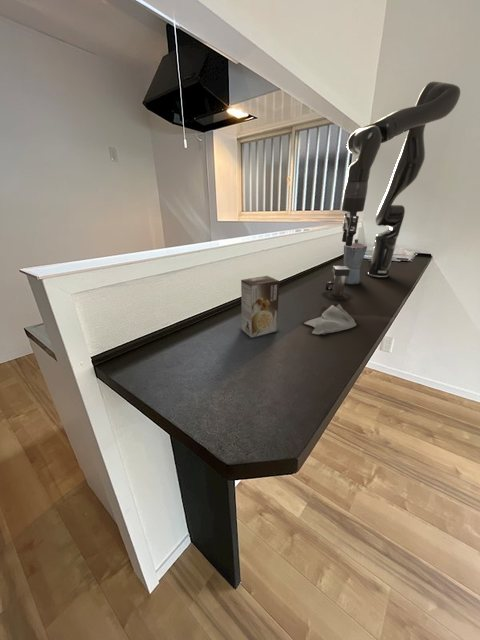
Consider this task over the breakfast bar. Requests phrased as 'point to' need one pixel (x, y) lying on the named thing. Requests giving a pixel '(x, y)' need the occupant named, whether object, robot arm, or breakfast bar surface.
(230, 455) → the breakfast bar surface
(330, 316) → the cloth
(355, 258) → the moka pot
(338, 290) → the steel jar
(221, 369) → the breakfast bar surface
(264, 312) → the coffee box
